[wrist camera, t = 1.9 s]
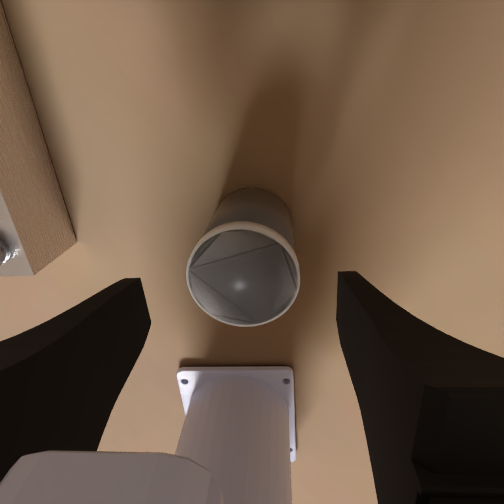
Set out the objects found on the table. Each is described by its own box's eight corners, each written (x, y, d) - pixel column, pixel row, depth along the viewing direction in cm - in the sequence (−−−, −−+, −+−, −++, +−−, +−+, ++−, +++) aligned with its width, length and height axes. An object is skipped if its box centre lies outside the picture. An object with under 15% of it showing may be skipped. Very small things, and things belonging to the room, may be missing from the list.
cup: (295, 261, 20) (301, 325, 15) (216, 264, 20) (194, 327, 15) (293, 183, 18) (299, 224, 13) (206, 188, 19) (177, 229, 13)
